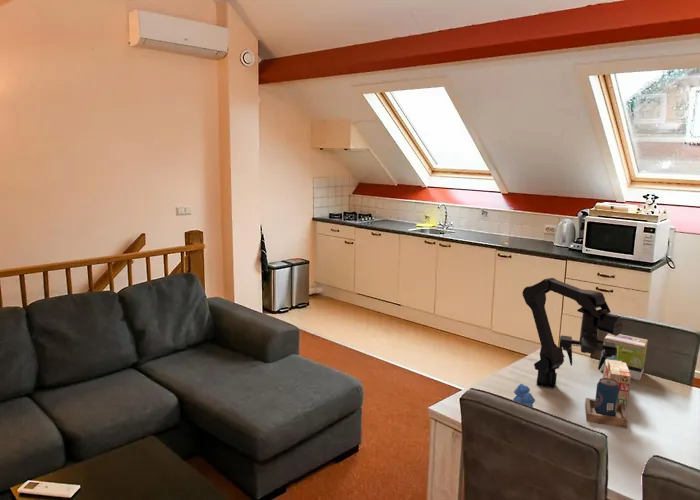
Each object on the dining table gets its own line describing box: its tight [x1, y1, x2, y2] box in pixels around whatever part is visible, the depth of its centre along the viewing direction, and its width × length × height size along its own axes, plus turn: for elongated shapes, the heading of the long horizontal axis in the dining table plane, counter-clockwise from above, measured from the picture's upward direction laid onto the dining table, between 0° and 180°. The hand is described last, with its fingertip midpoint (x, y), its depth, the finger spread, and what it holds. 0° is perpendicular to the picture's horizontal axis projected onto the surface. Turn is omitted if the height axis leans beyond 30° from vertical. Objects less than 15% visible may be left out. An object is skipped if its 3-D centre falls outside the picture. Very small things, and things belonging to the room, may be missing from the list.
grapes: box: [513, 383, 536, 408], centre depth 185 cm, size 12×7×12 cm, turn 5°
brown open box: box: [584, 397, 629, 429], centre depth 187 cm, size 12×12×3 cm
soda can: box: [594, 377, 619, 417], centre depth 186 cm, size 7×7×12 cm
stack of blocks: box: [602, 359, 632, 408], centre depth 203 cm, size 21×6×12 cm, turn 161°
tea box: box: [599, 333, 649, 381], centre depth 222 cm, size 15×10×15 cm
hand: (584, 367), depth 196 cm, fingers open, 9 cm apart
